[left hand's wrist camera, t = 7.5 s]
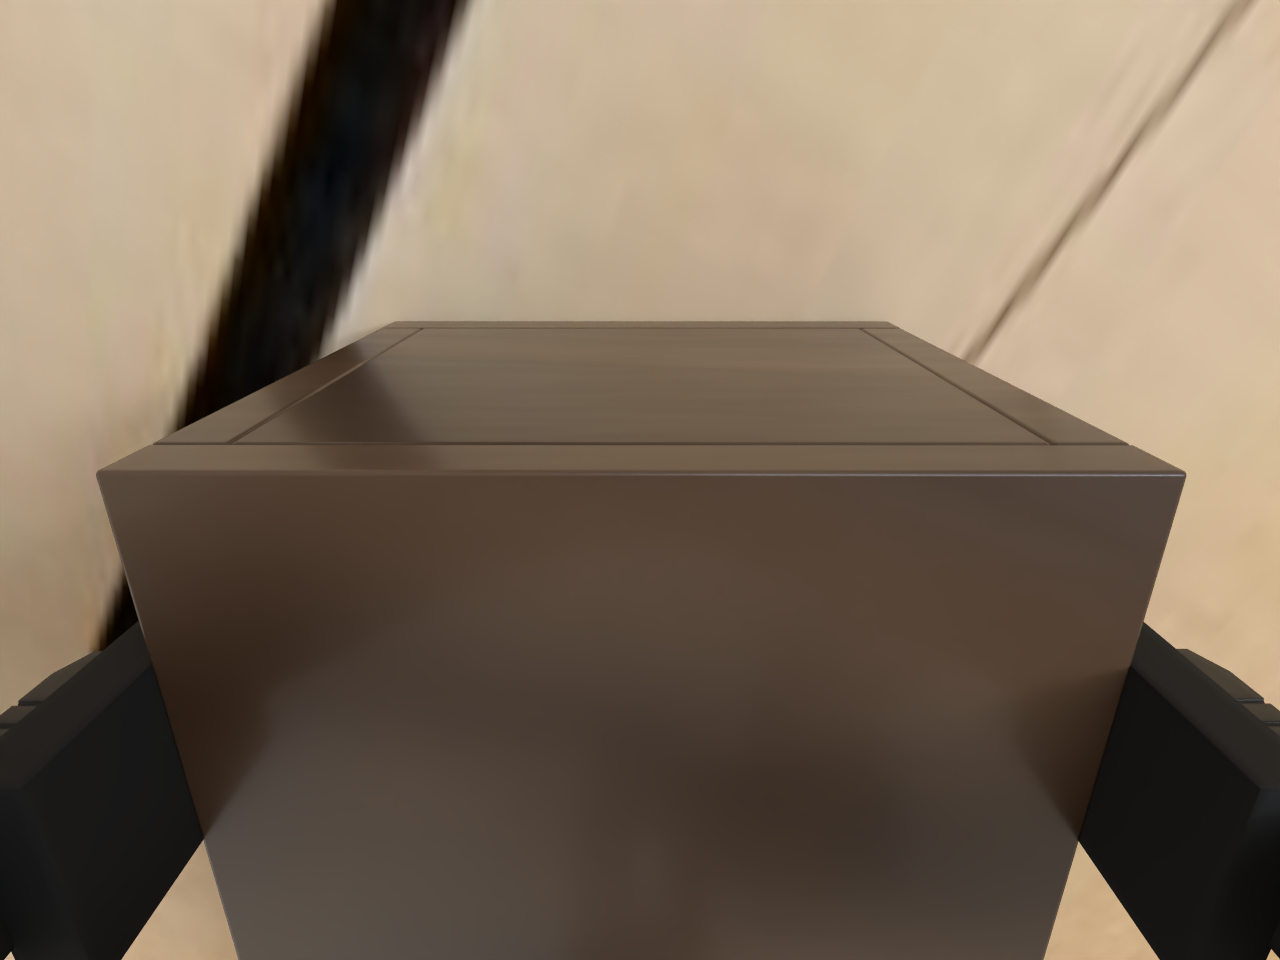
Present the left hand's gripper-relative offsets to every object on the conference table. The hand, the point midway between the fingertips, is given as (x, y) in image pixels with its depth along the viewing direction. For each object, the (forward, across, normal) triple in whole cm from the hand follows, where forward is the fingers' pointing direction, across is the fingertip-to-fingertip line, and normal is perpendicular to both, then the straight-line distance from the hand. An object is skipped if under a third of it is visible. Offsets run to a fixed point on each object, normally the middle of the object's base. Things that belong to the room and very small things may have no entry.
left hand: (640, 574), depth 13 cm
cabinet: (+5, 0, -7) cm, 9 cm away
